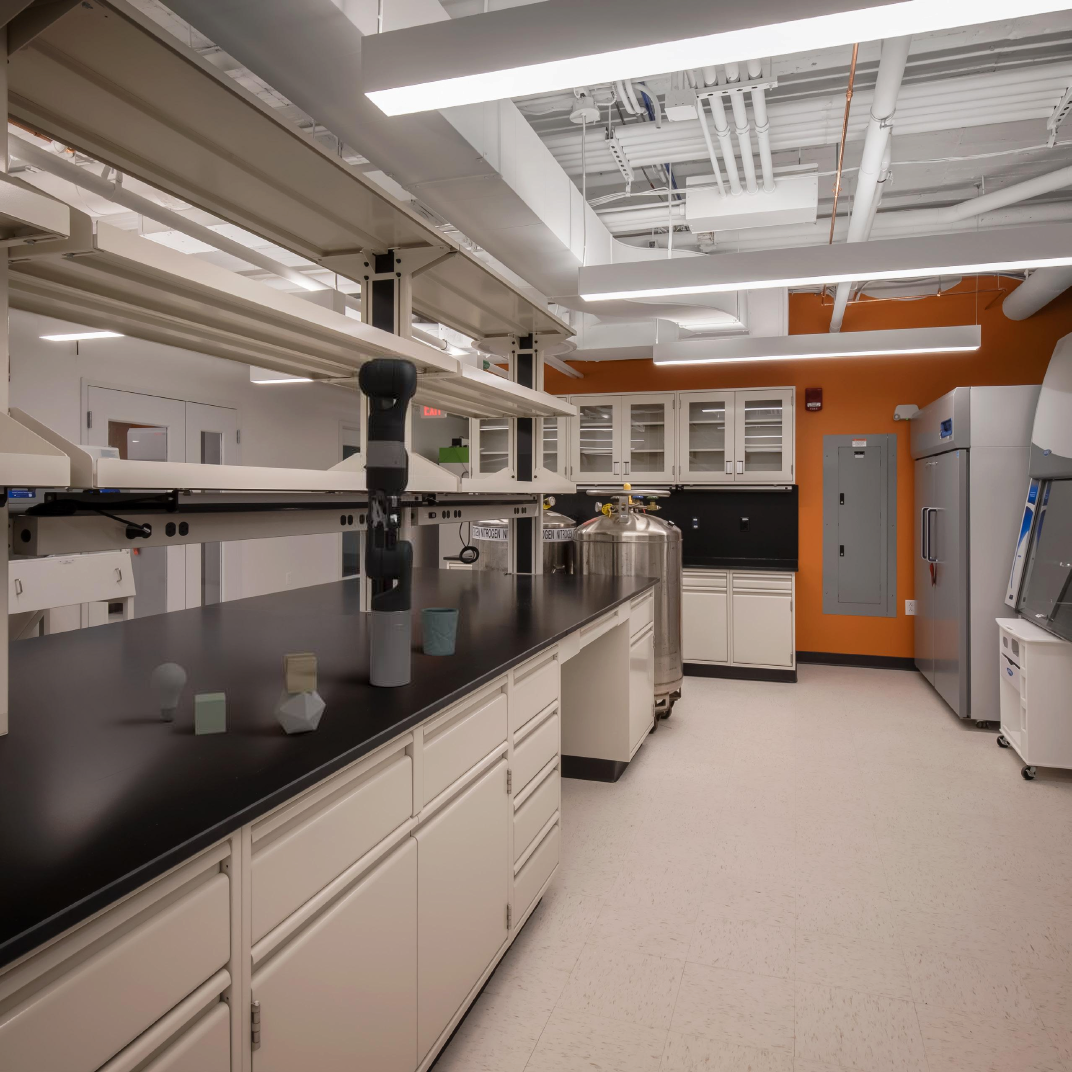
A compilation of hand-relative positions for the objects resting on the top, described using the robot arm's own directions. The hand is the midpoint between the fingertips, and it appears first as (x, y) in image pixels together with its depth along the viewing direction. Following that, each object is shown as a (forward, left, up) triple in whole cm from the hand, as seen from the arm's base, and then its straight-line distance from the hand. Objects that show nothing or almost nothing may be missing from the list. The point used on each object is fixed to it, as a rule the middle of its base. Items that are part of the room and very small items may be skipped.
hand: (384, 549), depth 144 cm
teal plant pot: (-54, +29, -33) cm, 70 cm away
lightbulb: (-12, -38, -33) cm, 52 cm away
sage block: (-4, -31, -33) cm, 46 cm away
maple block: (+2, -16, -26) cm, 30 cm away
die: (+2, -16, -33) cm, 37 cm away
